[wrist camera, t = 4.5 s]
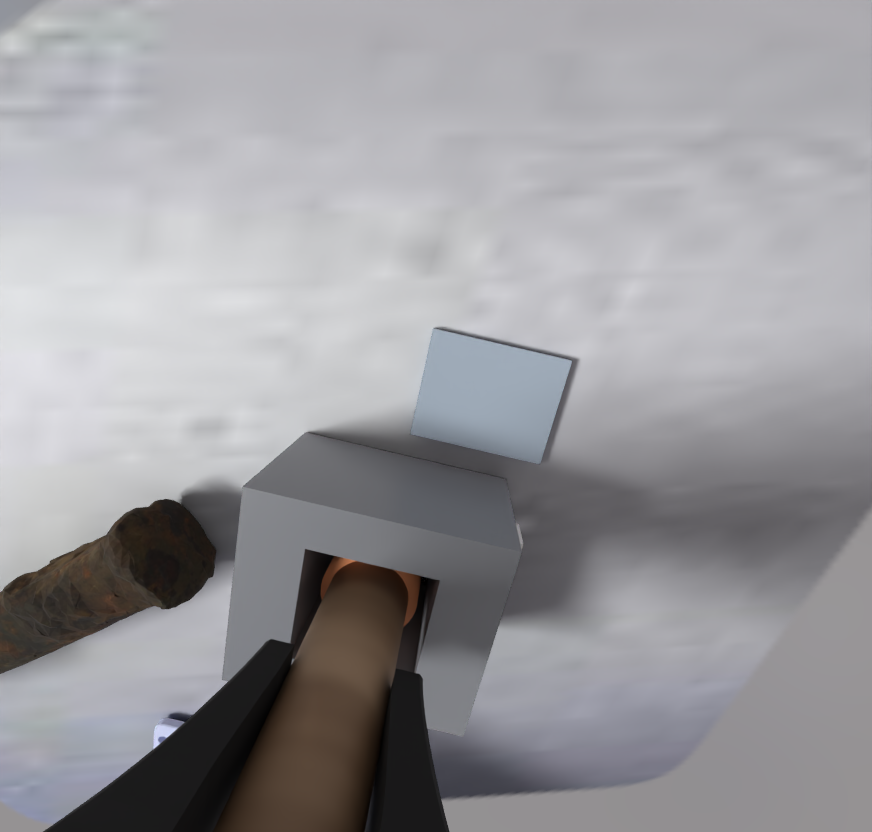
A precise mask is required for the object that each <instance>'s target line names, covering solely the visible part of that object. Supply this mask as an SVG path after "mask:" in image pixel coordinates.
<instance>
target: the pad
mask: <svg viewBox="0 0 872 832" xmlns="http://www.w3.org/2000/svg"><path fill="white" fill-rule="evenodd" d="M571 363H572V361H571V360H569V359H565V358H561V357H556V356H552V355H548V354H543V353H539V352H535V351H530V350H526V349H522V348H518V347H513V346H509V345H505V344H500V343H496V342H492V341H487V340H483V339H479V338H474V337H470V336H466V335H462V334H457V333H453V332H449V331H444V330H440V329H436V328H433V331H432V336H431V341H430V345H429V350H428V354H427V359H426V364H425V368H424V373H423V377H422V382H421V387H420V391H419V396H418V400H417V405H416V410H415V414H414V419H413V423H412V428H411V433H410V434H411V435H415V436H420V437H424V438H428V439H433V440H437V441H441V442H445V443H450V444H454V445H458V446H463V447H467V448H471V449H475V450H480V451H484V452H488V453H493V454H497V455H501V456H505V457H510V458H514V459H518V460H523V461H527V462H531V463H535V464H540V463H541V460H542V456H543V453H544V450H545V447H546V444H547V440H548V437H549V434H550V431H551V428H552V424H553V421H554V418H555V415H556V412H557V408H558V405H559V402H560V399H561V395H562V392H563V389H564V386H565V383H566V379H567V376H568V373H569V370H570V367H571Z"/></svg>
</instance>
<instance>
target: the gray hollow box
mask: <svg viewBox="0 0 872 832" xmlns="http://www.w3.org/2000/svg"><path fill="white" fill-rule="evenodd" d="M523 545H524V544H523V540H522V535H521V531H520V527H519V524H517V523H516V522H515V517H514V513H513V508H512V503H511V499H510V494H509V489H508V485H507V480H506V479H504V478H499V477H495V476H491V475H486V474H482V473H478V472H474V471H469V470H465V469H461V468H456V467H452V466H448V465H444V464H439V463H435V462H431V461H427V460H422V459H418V458H414V457H409V456H405V455H401V454H397V453H392V452H388V451H384V450H379V449H375V448H371V447H367V446H362V445H358V444H354V443H350V442H345V441H341V440H337V439H332V438H328V437H324V436H320V435H315V434H311V433H307V432H306V433H304V434H303V435H302V436H301V437H300V438H299V439H297V440H296V441H295V442H294V443H293V444H292V445H290V446H289V447H288V448H287V449H286V450H285V451H283V452H282V453H281V454H280V455H279V456H278V457H276V458H275V459H274V460H273V461H272V462H271V463H269V464H268V465H267V466H266V467H265V468H264V469H263V470H261V471H260V472H259V473H258V474H257V475H256V476H254V477H253V478H252V479H251V480H250V481H249V482H247V483H246V484H245V485H244V486H243V487H242V497H241V506H240V515H239V525H238V534H237V544H236V553H235V562H234V572H233V581H232V590H231V600H230V609H229V618H228V628H227V637H226V647H225V656H224V665H223V675H222V680H225V681H229V680H230V679H231V678H232V677H233V676H234V675H235V674H236V673H237V672H238V671H239V670H240V669H241V668H242V667H243V666H244V665H245V664H246V663H247V662H248V661H249V660H250V659H251V658H252V657H253V656H254V655H255V653H256V652H257V651H258V650H259V649H260V648H261V647H262V646H263V645H264V643H265V642H266V641H268V640H270V639H274V640H278V641H282V642H286V643H291V644H295V645H294V651H293V657H292V663H293V661H294V659H295V657H296V655H297V652H298V650H299V648H300V646H301V644H302V642H303V640H304V638H305V635H306V633H307V631H308V629H309V627H310V625H311V623H312V621H313V619H314V616H315V614H316V612H317V610H318V608H319V606H320V604H321V602H322V599H321V583H322V579H323V577H324V574H325V572H326V570H327V568H328V567H329V565H330V563H331V561H332V559H333V557H334V556H337V557H342V558H346V559H350V560H355V561H359V562H363V563H367V564H372V565H376V566H380V567H384V568H389V569H393V570H397V571H401V572H406V573H410V574H414V575H418V576H423V577H427V578H428V580H427V584H426V585H424V584H420V590H419V596H418V602H417V608H416V611H415V613H414V615H413V617H412V618H411V620H410V621H409V622H408V623H407V624H406V625H405V626H404V627H403V632H402V637H401V642H400V648H399V653H398V658H397V663H396V668H397V669H401V670H405V671H409V672H413V673H418V674H420V675H421V677H422V678H423V697H424V708H425V717H426V724H427V728H428V729H432V730H436V731H440V732H445V733H449V734H453V735H457V736H462V737H463V736H464V732H465V729H466V726H467V723H468V720H469V717H470V714H471V711H472V707H473V704H474V701H475V698H476V695H477V692H478V689H479V685H480V682H481V679H482V676H483V673H484V670H485V667H486V664H487V660H488V657H489V654H490V651H491V648H492V645H493V642H494V638H495V635H496V632H497V629H498V626H499V623H500V620H501V617H502V613H503V610H504V607H505V604H506V601H507V598H508V595H509V591H510V588H511V585H512V582H513V579H514V576H515V573H516V570H517V566H518V563H519V560H520V557H521V554H522V548H523ZM291 665H292V664H291ZM395 670H396V669H395Z"/></svg>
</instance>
